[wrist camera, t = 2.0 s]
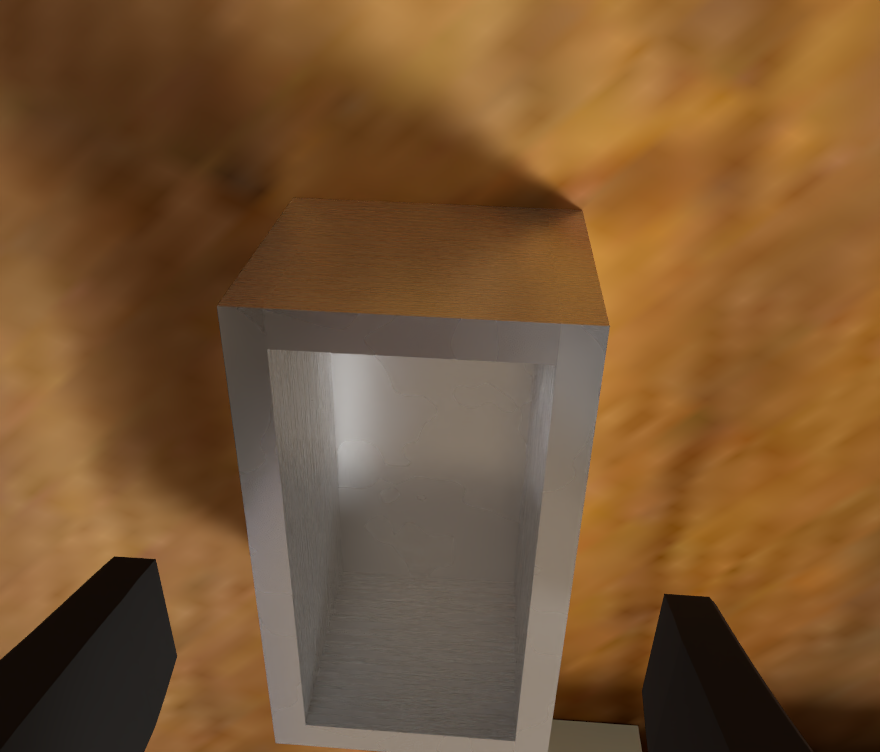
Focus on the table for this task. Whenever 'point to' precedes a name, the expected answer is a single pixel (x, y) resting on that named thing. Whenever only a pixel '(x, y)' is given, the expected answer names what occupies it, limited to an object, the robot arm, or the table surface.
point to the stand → (593, 737)
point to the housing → (414, 465)
